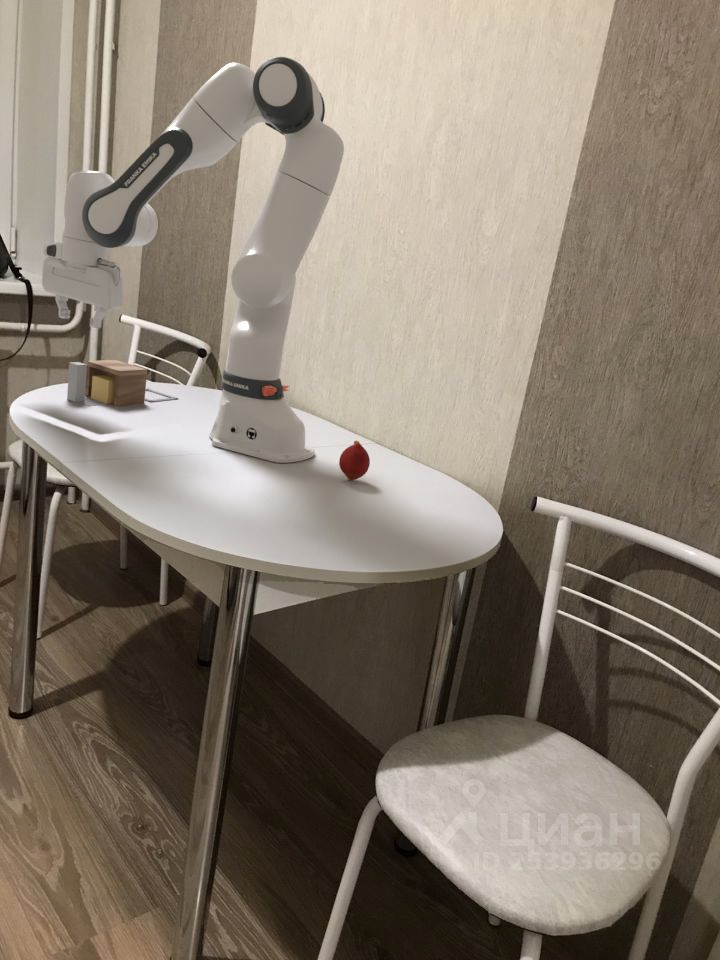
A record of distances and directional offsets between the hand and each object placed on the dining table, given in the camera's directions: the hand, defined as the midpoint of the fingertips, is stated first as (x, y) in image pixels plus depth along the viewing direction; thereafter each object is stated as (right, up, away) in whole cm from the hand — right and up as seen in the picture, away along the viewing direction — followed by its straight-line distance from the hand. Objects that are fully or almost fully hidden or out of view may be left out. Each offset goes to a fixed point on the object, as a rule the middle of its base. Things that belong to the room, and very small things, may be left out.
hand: (79, 322), depth 154 cm
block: (+3, -15, +10) cm, 18 cm away
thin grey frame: (+8, -14, +21) cm, 27 cm away
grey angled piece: (+2, -16, +10) cm, 19 cm away
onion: (+57, -33, -12) cm, 67 cm away
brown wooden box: (+3, -16, +12) cm, 20 cm away
